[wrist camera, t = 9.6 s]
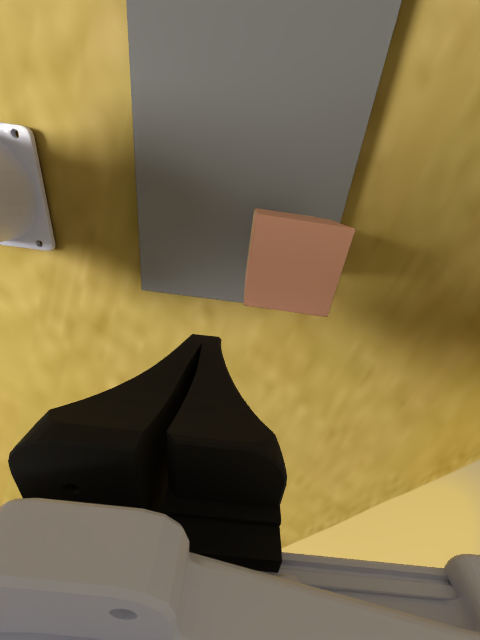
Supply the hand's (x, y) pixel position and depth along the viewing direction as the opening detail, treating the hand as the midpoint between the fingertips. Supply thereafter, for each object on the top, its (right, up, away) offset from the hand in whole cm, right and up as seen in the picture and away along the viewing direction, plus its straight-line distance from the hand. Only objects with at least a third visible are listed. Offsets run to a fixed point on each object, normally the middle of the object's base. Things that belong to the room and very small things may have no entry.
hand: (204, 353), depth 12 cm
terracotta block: (+4, +6, +3) cm, 7 cm away
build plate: (+2, +12, +5) cm, 14 cm away
